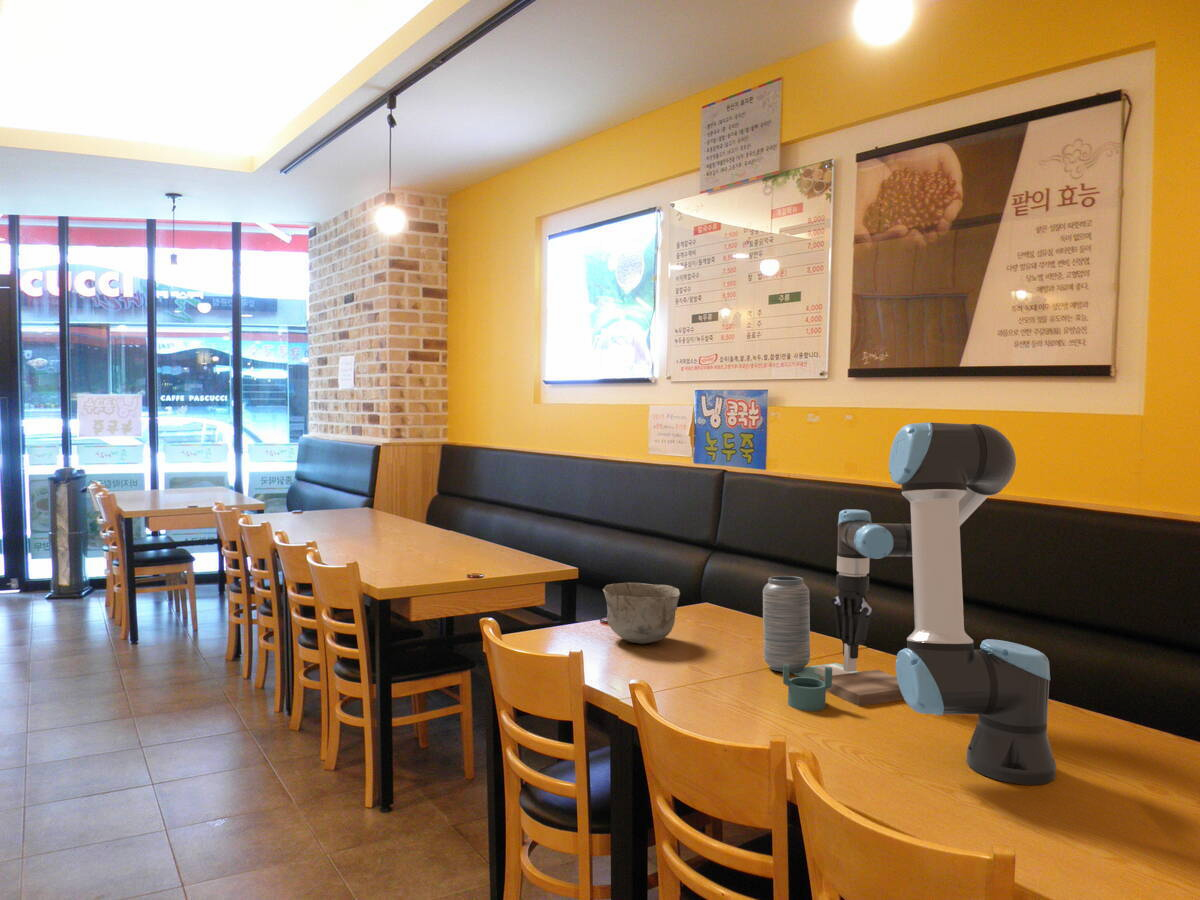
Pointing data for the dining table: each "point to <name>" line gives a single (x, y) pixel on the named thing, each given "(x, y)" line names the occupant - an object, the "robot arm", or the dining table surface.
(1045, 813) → the dining table surface
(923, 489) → the robot arm
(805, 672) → the mat
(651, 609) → the bowl
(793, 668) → the vase
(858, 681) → the brown wooden flat board
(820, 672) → the white rectangular block
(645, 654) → the dining table surface
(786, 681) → the bracket
